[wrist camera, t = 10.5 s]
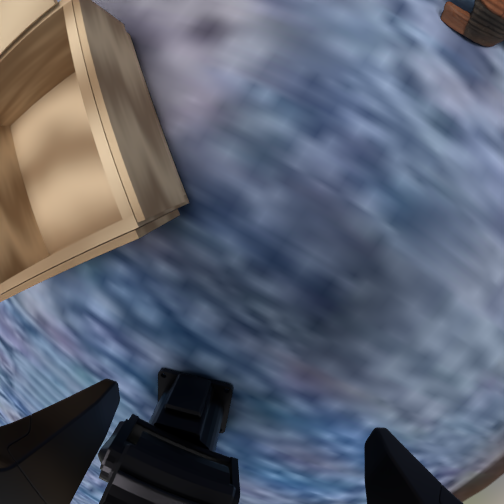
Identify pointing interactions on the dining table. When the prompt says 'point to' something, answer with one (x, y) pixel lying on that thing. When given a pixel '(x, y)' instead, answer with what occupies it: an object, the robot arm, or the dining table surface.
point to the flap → (19, 18)
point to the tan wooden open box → (77, 147)
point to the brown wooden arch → (477, 21)
